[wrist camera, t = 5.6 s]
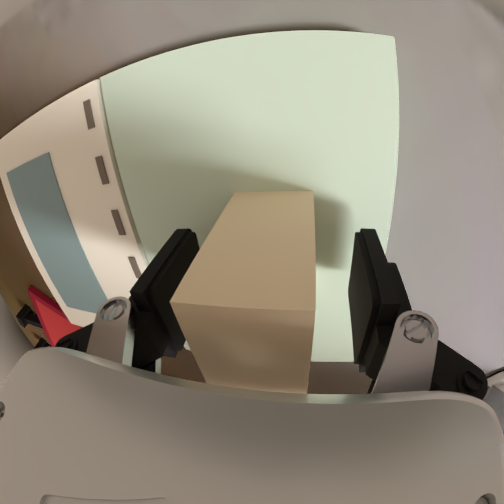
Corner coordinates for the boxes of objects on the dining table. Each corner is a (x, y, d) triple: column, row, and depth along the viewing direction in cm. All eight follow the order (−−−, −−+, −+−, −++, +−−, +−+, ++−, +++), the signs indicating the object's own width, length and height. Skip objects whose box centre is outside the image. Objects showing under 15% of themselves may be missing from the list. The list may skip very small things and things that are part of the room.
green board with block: (384, 41, 7) (495, -3, 1) (355, 346, 16) (358, 450, 10) (116, 75, 9) (-21, 107, 3) (191, 336, 19) (155, 424, 13)
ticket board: (115, 77, 9) (93, 79, 8) (188, 332, 19) (181, 349, 18) (6, 139, 12) (-9, 146, 11) (79, 312, 21) (70, 324, 20)
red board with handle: (64, 376, 39) (128, 411, 40) (58, 386, 37) (124, 423, 38) (15, 268, 22) (114, 327, 23) (1, 283, 20) (101, 349, 20)
